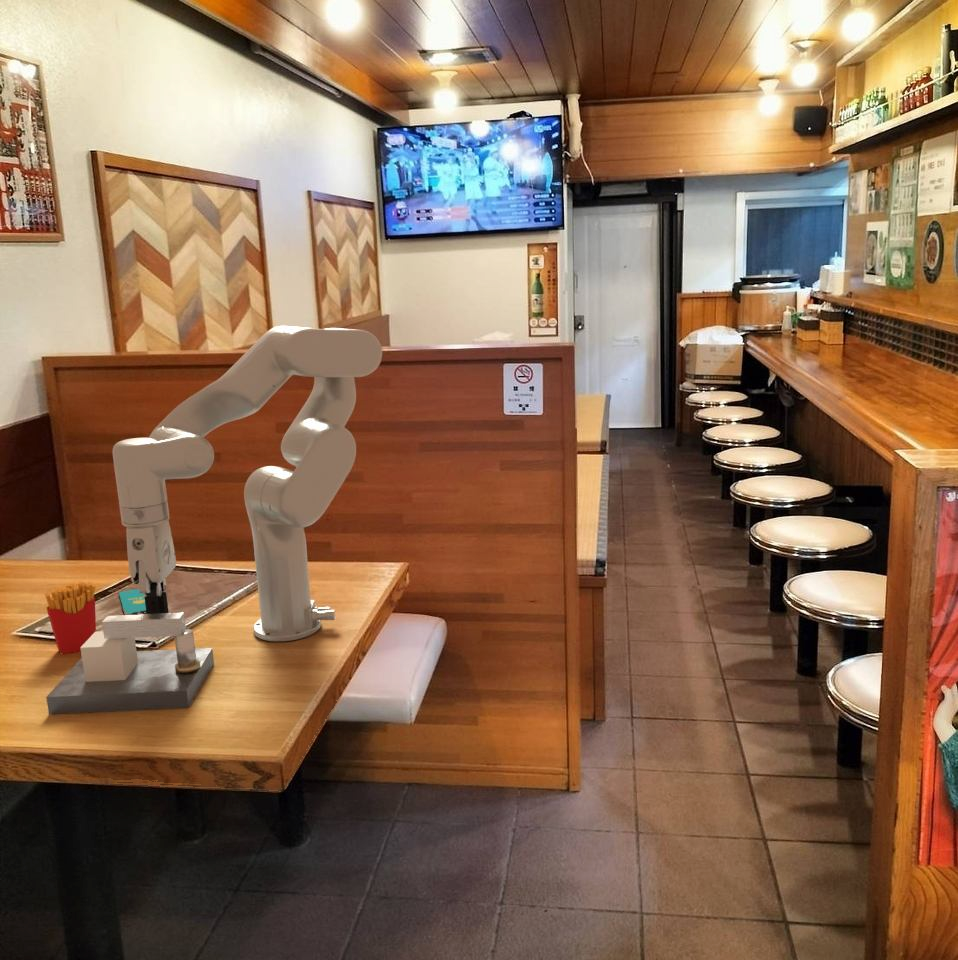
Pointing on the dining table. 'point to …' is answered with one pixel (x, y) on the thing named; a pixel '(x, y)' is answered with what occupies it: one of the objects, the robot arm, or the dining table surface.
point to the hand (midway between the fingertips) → (158, 615)
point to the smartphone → (132, 601)
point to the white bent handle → (156, 634)
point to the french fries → (72, 615)
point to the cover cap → (108, 658)
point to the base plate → (133, 686)
